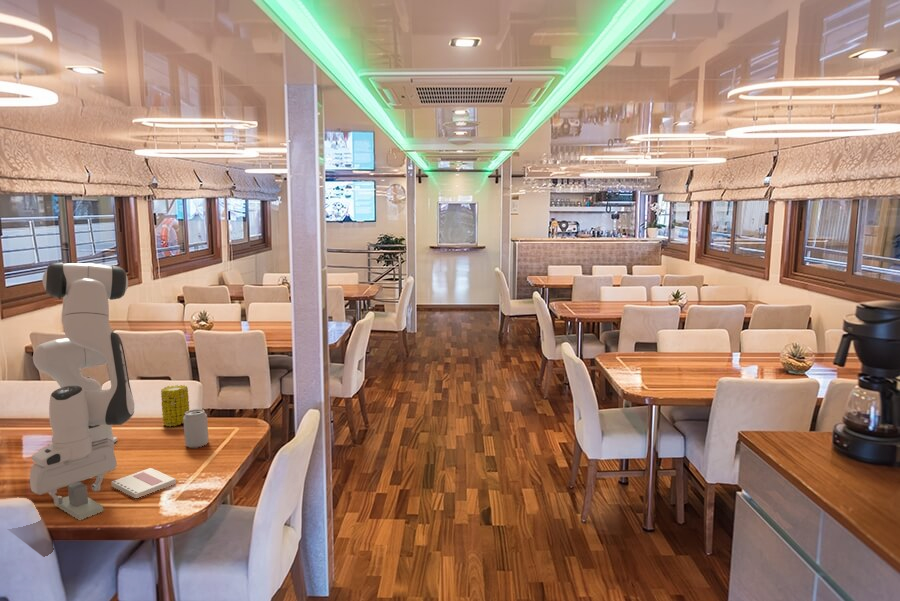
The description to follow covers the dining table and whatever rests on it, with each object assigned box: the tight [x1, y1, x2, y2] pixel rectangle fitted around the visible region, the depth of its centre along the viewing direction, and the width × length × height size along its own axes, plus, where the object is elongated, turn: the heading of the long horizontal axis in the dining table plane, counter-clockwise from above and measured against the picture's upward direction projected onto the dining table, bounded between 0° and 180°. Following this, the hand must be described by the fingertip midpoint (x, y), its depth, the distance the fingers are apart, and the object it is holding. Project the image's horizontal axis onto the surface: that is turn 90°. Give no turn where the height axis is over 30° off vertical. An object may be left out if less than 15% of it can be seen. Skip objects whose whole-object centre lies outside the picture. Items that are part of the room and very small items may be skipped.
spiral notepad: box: [111, 467, 177, 499], centre depth 177 cm, size 14×12×2 cm
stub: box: [55, 481, 104, 521], centre depth 163 cm, size 14×6×7 cm, turn 54°
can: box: [183, 408, 209, 449], centre depth 207 cm, size 8×8×12 cm
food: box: [160, 384, 190, 428], centre depth 230 cm, size 15×12×10 cm
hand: (77, 496), depth 163 cm, fingers open, 8 cm apart
